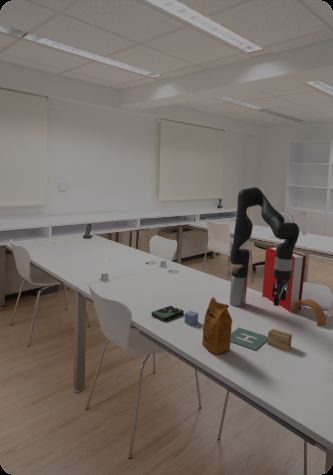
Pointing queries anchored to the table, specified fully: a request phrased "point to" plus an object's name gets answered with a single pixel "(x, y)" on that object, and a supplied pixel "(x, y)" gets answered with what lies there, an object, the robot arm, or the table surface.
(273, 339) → the block
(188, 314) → the blue cube
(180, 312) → the disk drive
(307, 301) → the arch
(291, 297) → the book
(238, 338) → the letter board
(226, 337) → the coffee package
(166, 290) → the table surface
